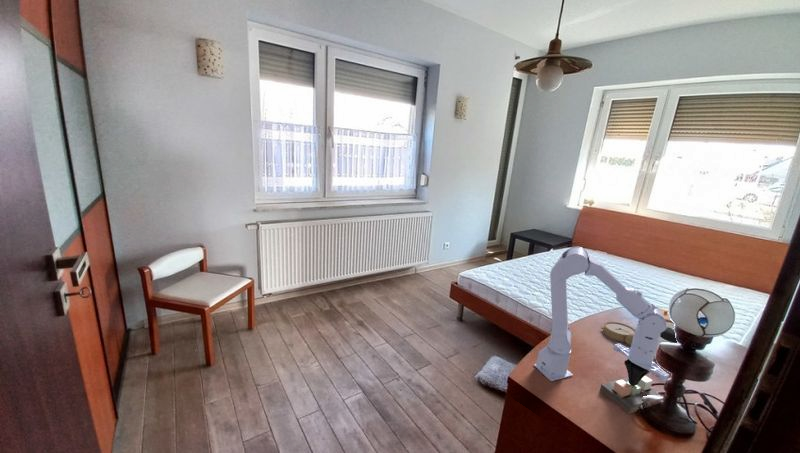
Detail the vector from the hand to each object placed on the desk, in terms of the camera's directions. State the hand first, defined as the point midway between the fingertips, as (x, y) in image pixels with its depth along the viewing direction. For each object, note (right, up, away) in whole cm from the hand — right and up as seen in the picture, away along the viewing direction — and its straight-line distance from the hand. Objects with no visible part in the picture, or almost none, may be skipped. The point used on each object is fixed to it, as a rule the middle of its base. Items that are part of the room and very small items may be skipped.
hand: (632, 383), depth 94 cm
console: (0, -5, +1) cm, 5 cm away
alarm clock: (+21, +2, +32) cm, 39 cm away
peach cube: (-4, -2, -1) cm, 5 cm away
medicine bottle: (+27, -1, +20) cm, 34 cm away
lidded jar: (+42, +3, +39) cm, 58 cm away
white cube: (+4, -2, +2) cm, 5 cm away
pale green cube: (0, -3, +1) cm, 3 cm away
